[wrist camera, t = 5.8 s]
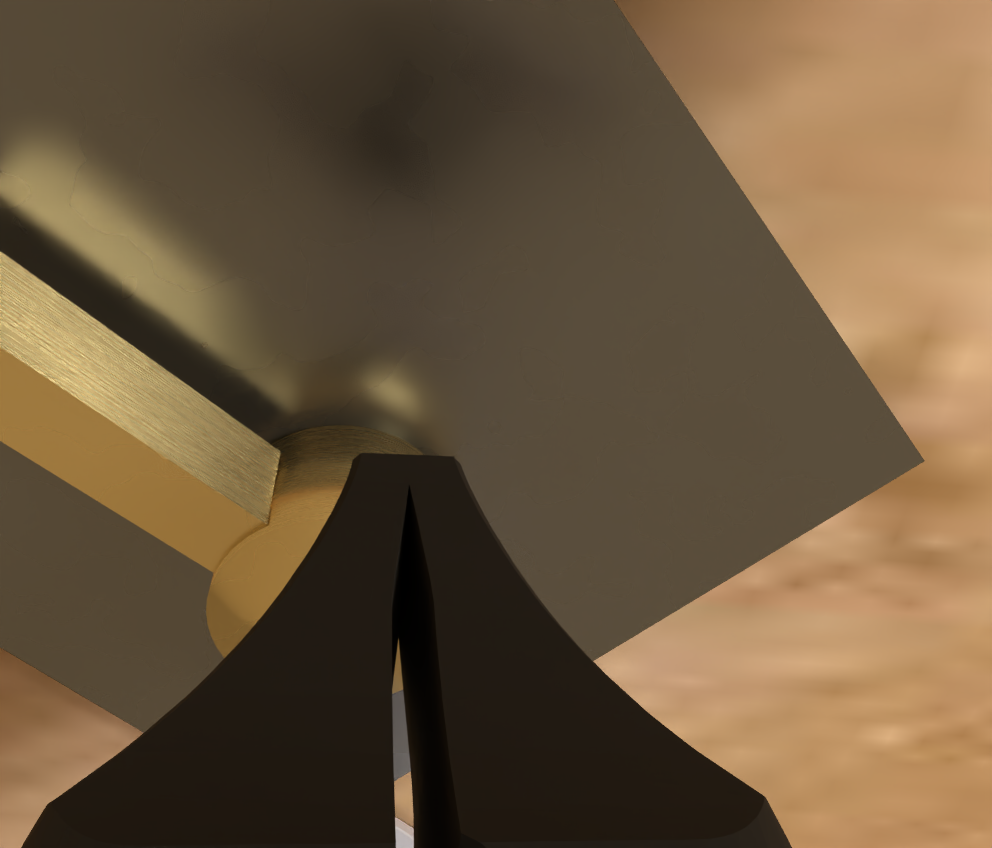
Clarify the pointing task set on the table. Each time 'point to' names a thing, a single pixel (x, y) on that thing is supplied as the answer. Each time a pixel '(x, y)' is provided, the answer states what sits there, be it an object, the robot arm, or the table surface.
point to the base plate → (415, 302)
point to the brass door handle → (169, 452)
